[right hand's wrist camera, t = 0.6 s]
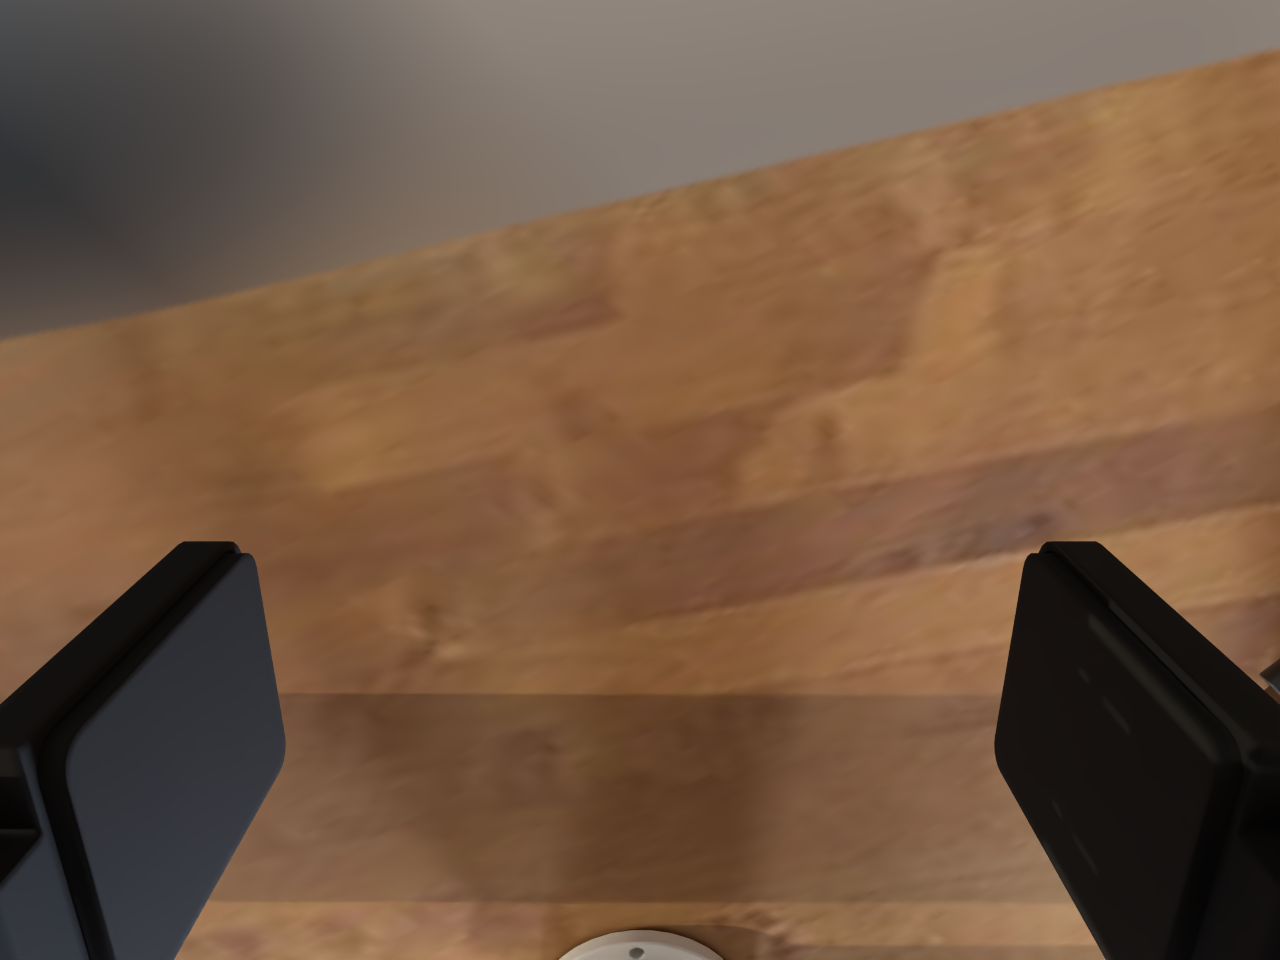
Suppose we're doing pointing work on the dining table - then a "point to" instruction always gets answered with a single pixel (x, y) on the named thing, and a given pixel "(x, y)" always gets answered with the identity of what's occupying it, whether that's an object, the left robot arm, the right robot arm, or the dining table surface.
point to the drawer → (1273, 680)
